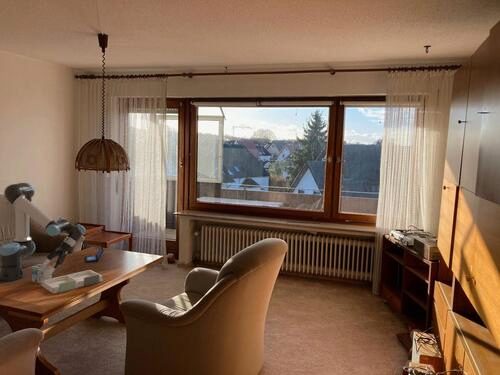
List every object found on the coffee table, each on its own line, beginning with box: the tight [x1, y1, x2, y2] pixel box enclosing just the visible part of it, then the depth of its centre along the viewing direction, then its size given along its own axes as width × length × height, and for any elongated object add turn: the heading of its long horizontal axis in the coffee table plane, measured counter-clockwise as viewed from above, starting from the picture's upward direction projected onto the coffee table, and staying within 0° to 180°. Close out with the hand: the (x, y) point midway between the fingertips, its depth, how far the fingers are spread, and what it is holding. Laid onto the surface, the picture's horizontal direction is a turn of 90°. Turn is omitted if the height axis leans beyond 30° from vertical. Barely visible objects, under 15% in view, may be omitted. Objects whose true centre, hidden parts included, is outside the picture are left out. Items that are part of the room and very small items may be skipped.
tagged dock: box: [40, 269, 104, 294], centre depth 261 cm, size 33×20×6 cm, turn 138°
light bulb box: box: [31, 263, 53, 284], centre depth 264 cm, size 11×7×11 cm, turn 73°
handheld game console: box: [85, 246, 104, 264], centre depth 317 cm, size 16×13×9 cm
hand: (46, 269), depth 265 cm, fingers open, 13 cm apart
